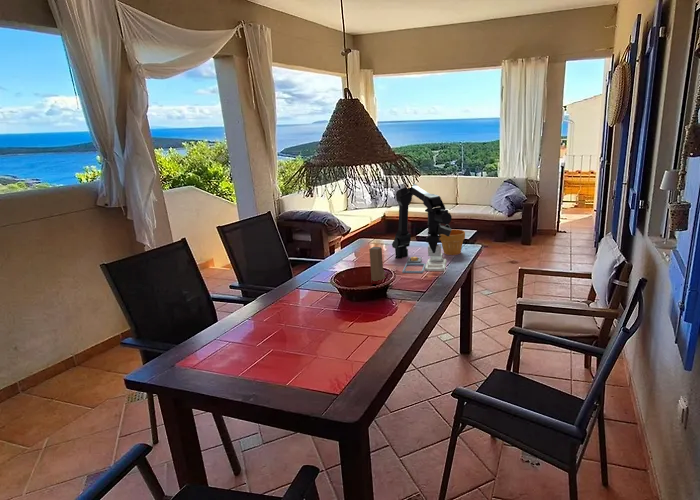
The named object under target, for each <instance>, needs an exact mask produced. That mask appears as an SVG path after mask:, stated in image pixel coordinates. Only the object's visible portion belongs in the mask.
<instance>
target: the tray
mask: <svg viewBox="0 0 700 500" xmlns="http://www.w3.org/2000/svg"><path fill="white" fill-rule="evenodd" d="M426 264H427V262H425V263H424V262H421V263H407V262H406V263H405V265H404V267H403V269H402V274H423V273H424V271H425V267H426ZM407 266H423V267H422V269H421V270H406V269H407V268H408V267H407Z"/></svg>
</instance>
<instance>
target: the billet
mask: <svg viewBox="0 0 700 500" xmlns="http://www.w3.org/2000/svg"><path fill="white" fill-rule="evenodd" d="M441 253H442V243H437V245H436V251H435V253H433V252H432V250H431V248H430V246H429V244H428V246H427V256H428V257H430V256H441Z"/></svg>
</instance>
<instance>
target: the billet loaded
mask: <svg viewBox="0 0 700 500" xmlns="http://www.w3.org/2000/svg"><path fill="white" fill-rule="evenodd" d="M443 255H444V252H441V256H429V257H430V258H429V259H431V262H443V259H444V256H443Z"/></svg>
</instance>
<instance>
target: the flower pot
mask: <svg viewBox="0 0 700 500" xmlns="http://www.w3.org/2000/svg"><path fill="white" fill-rule="evenodd" d="M451 229H452V228H451ZM438 236H441V237H440V242H441V243H440V244H441V248H442V250H443V255H444V254H445V255H446V256H447V255H448V256H456V255H457V256H458V255H460V254H461V253H462V248H463V243H464V240H465V238H466V231H465V230H463V229H455V228H453V229H452V230H451V233H450V236H446V235H443V234H441V235H438Z"/></svg>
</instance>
